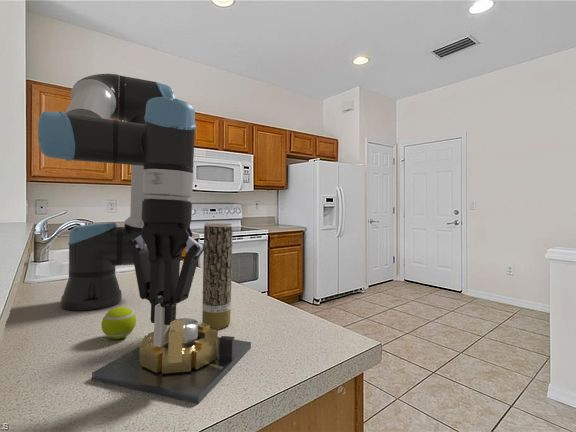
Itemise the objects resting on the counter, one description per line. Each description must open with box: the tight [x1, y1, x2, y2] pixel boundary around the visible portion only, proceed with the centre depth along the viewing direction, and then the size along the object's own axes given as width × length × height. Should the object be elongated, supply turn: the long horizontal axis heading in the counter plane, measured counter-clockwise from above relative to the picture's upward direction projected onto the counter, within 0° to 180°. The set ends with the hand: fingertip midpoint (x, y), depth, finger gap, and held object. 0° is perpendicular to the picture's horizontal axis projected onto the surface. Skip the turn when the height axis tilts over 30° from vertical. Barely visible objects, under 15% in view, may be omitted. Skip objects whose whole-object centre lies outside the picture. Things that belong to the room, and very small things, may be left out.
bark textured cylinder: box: [201, 222, 234, 330], centre depth 78 cm, size 7×7×25 cm
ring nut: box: [138, 320, 219, 374], centre depth 58 cm, size 16×13×8 cm
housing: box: [91, 317, 252, 405], centre depth 60 cm, size 20×20×7 cm
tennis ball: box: [101, 306, 137, 340], centre depth 70 cm, size 7×7×7 cm
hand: (162, 343), depth 52 cm, fingers closed
